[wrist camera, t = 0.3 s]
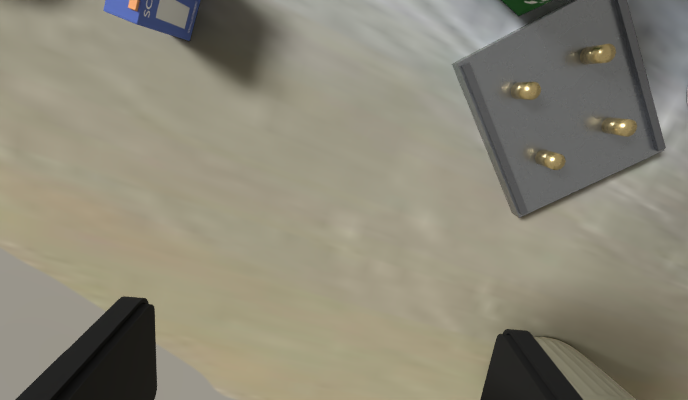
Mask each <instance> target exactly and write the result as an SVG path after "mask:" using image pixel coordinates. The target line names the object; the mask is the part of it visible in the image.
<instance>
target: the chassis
mask: <svg viewBox="0 0 688 400" xmlns="http://www.w3.org/2000/svg"><path fill="white" fill-rule="evenodd" d="M452 65H453V68H454V70H455V73H456V75H457V78H458V80H459V83H460V85H461V88H462V90H463V92H464V95H465V97H466V100H467V102H468V105H469V107H470V110H471V112H472V115H473V117H474V120H475V122H476V125H477V127H478V130H479V132H480V135H481V137H482V139H483V142H484V144H485V147H486V149H487V152H488V154H489V157H490V159H491V162H492V164H493V167H494V169H495V172H496V174H497V177H498V179H499V182H500V184H501V187H502V189H503V191H504V194H505V196H506V199H507V201H508V204H509V206H510V209H511V211H512V213H513V214H515V215H516V216H518V217H519V218H520V217H522V216H524V215H526V214H528V213H530V212H533V211H535V210H537V209H539V208H541V207H543V206H545V205H548V204H550V203H552V202H554V201H556V200H558V199H560V198H563V197H565V196H567V195H569V194H571V193H573V192H576V191H578V190H580V189H582V188H584V187H586V186H588V185H591V184H593V183H595V182H597V181H599V180H601V179H603V178H606V177H608V176H610V175H612V174H614V173H616V172H618V171H621V170H623V169H625V168H627V167H629V166H631V165H634V164H636V163H638V162H640V161H642V160H644V159H646V158H649V157H651V156H653V155H655V154H657V153H659V152H661V151H664V149H665V148H666V147H665V144H664V140H663V136H662V132H661V128H660V125H659V121H658V117H657V113H656V109H655V106H654V102H653V98H652V94H651V91H650V87H649V83H648V79H647V75H646V72H645V68H644V64H643V60H642V56H641V53H640V49H639V45H638V41H637V38H636V34H635V30H634V26H633V22H632V19H631V15H630V11H629V7H628V3H627V0H573V1H571V2H570V3H568V4H566V5H564V6H562V7H560V8H558V9H556V10H554V11H552V12H550V13H549V14H547V15H545V16H543V17H541V18H539V19H537V20H535V21H533V22H531V23H529V24H528V25H526V26H524V27H522V28H520V29H518V30H516V31H514V32H512V33H510V34H508V35H507V36H505V37H503V38H501V39H499V40H497V41H495V42H493V43H491V44H489V45H487V46H486V47H484V48H482V49H480V50H478V51H476V52H474V53H472V54H470V55H468V56H466V57H465V58H463V59H461V60H459V61H457V62H455V63H453V64H452Z"/></svg>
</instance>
